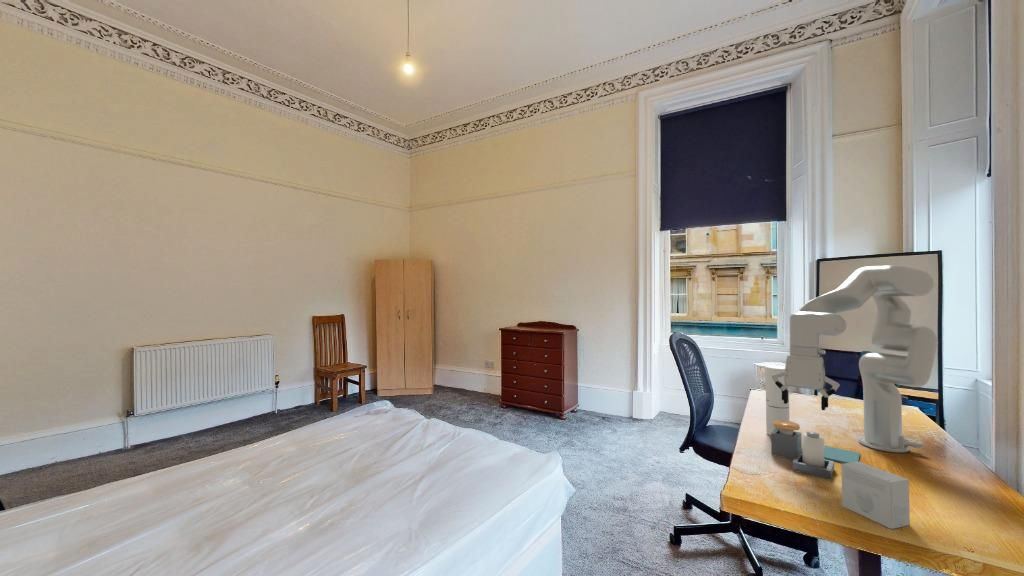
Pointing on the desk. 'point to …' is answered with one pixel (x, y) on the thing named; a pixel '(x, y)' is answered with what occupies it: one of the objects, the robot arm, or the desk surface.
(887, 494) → the skincare box
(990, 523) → the desk surface
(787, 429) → the plunger
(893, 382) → the robot arm
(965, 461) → the desk surface
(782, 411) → the cylindrical container
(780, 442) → the plunger housing
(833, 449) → the pad
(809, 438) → the cylinder
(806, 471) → the frame
